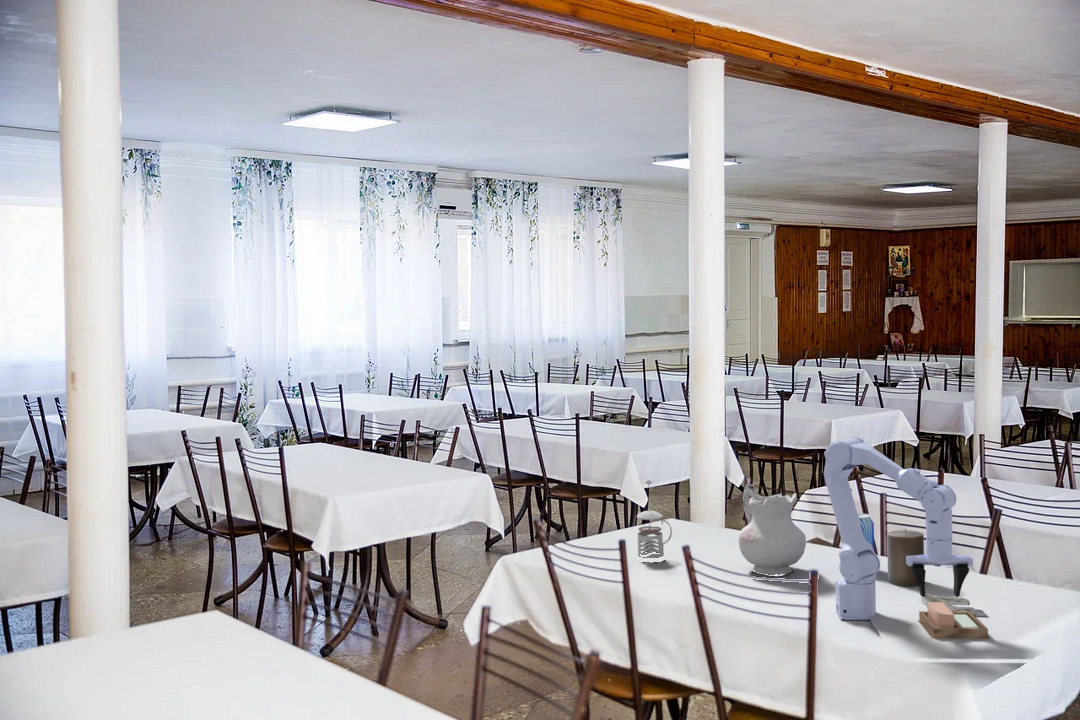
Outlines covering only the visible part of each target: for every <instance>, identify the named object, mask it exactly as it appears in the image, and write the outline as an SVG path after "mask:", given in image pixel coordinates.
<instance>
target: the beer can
mask: <svg viewBox="0 0 1080 720" xmlns="http://www.w3.org/2000/svg"><path fill="white" fill-rule="evenodd" d="M857 513H858V517H859V521H860V524H861V528H862V531H863V535H864V538H865V540H866V541H867V542H869V543H870V544H871V545H872V548H873V551H874V552H875V532H874V531H875V526H874V525H875V524H874V521H873V520H872V518H871V515H870V514H868V513H860V512H857Z"/></svg>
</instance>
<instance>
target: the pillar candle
mask: <svg viewBox="0 0 1080 720" xmlns="http://www.w3.org/2000/svg"><path fill="white" fill-rule="evenodd" d="M924 538H925V537H924V533H923V532H920V531H916V530H907V529H906V528H905V529H904V530H902V529H901V530H891V531H888V532H886V539H887V540H886V541H887V542H886V544H887V548H886V549H887V580H888V581H887V582H888V583H889V584H890V585H896V586H901V587H919V586H918V583H917V580H916V577H915V575H914V572H913V570H912V568H911V566H908V565H907V564H906V556H915V555H925V548H924V547H925V539H924ZM923 567H924V568H925V565H923Z"/></svg>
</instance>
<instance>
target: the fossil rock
mask: <svg viewBox="0 0 1080 720" xmlns="http://www.w3.org/2000/svg"><path fill="white" fill-rule="evenodd" d="M920 596H921V595H920ZM920 599H921V603H922V602H923V603H922V605H923V604H924V605H923V606H926V608H927V610H928V602H943V603H944V605H945V606H946V607H947V608H948V609H949V610H950V611H963V612H971V613H972V614H973V615H974V616H975V617H976V618H990V615H988V614H987V613H986V612H985V611H984V610H982V609H977V608H974V607H972V606H971V607H970V606H969V603H970V601H969V599H967V598H963V597H956V596H953V597H952V596H943V595H934V594H929V593H925V597H922V596H921V597H920Z"/></svg>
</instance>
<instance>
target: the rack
mask: <svg viewBox="0 0 1080 720" xmlns="http://www.w3.org/2000/svg"><path fill="white" fill-rule="evenodd" d="M951 612H952V613H953V614H959V615H967V616H968V617H969V618H970V619H971V620H972V621H973V622H974V623H975V624H976V625H977V626H978V627H979V628H961V627H960V625H959V624H958V623H957V622H956V621H955V620H954V628H936V626H935V625H934V624H933V623H932V622H931V621H930V619H929V618H928V610H927V611H926V610H925V611H923V610H922V611H921V610H919V612H918V614H919V615H918V616H919V617H918V618H919V620H917V622H918V623H919V624H920V625H921V626H922V628H923V629H924V631H926V633H927V634H928V635H929V636H930V638H931V639H957V640H958V639H962V640H963V639H967V640H968V639H969V640H970V639H971V640H973V639H975V640H980V639H981V640H982V639H984V640H985V639H986V640H990V639H991V638H990V637H989V629H988V627H987V626H986V625H985V624H984V623H982V621H981V620H979V618H978V617H975V616H974V615H973V614H972V613H971V612H963V611H951Z"/></svg>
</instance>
